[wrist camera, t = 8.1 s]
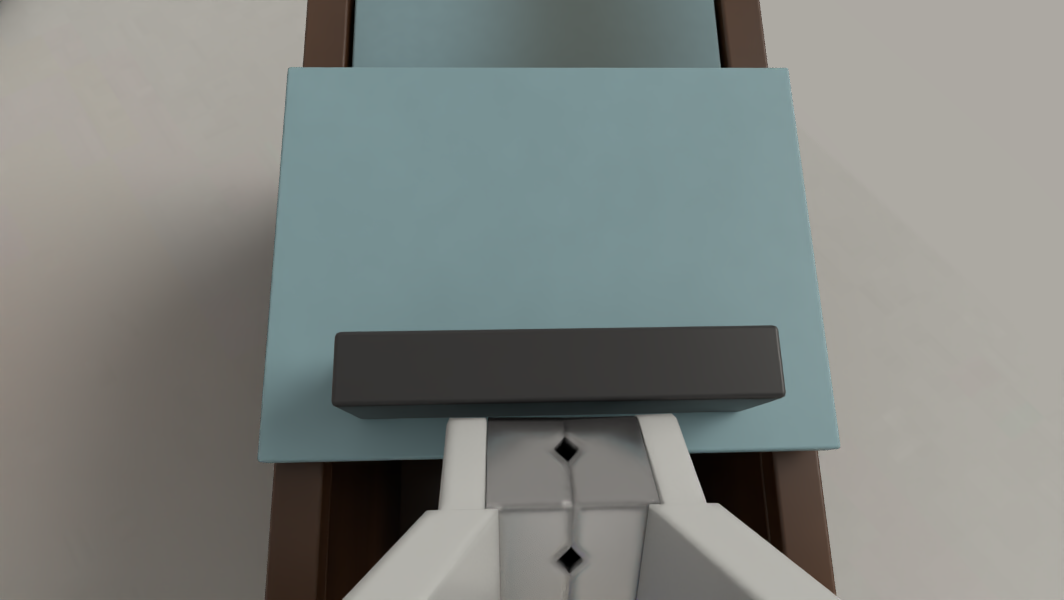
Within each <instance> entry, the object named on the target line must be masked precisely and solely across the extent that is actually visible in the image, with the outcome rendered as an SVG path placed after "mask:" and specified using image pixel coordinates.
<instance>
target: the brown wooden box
mask: <svg viewBox="0 0 1064 600" xmlns="http://www.w3.org/2000/svg"><path fill="white" fill-rule="evenodd" d="M303 67H384V68H768V64H767V56H766V49H765V41H764V34H763V25H762V18H761V11H760V2H759V0H308V2H307V16H306V30H305V44H304V58H303ZM689 454H690V457H691V460H692V463H693V466H694V468H695V471H696V474H697V477H698V480H699V483H700V485H701V488H702V491H703V494H704V497H705V499H706V502H707V503H719V504H720V505H721V506H723V507H724V508H725V509H727V510H728V511H729V512H730V513H732V514H733V515H734V516H735V517H737V518H738V519H739V520H741V521H742V522H743V523H744V524H746V525H747V526H748V527H749V528H751V529H752V530H753V531H755V532H756V533H757V534H758V535H760V536H761V537H762V538H763V539H765V540H766V541H767V542H769V543H770V544H771V545H772V546H774V547H775V548H776V549H777V550H779V551H780V552H781V553H783V554H784V555H785V556H786V557H788V558H789V559H790V560H791V561H793V562H794V563H795V564H796V565H798V566H799V567H800V568H802V569H803V570H804V571H805V572H807V573H808V574H809V575H810V576H812V577H813V578H814V579H816V580H817V581H818V582H819V583H821V584H822V585H823V586H824V587H826V588H827V589H828V590H830V591H831V592H832V593H833V594H835V595H836V589H835V581H834V574H833V566H832V558H831V550H830V543H829V535H828V527H827V520H826V512H825V504H824V496H823V489H822V481H821V473H820V466H819V458H818V450H814V451H771V452H728V453H689ZM442 466H443V459H425V460H382V461H338V462H295V463H274V477H273V491H272V505H271V519H270V533H269V547H268V561H267V575H266V589H265V600H342V599H343V598H344V597H345V596H346V595H347V594H348V593H349V592H350V591H351V590H352V589H353V588H354V587H355V585H356V584H357V583H358V582H359V581H360V580H361V579H362V578H363V577H364V576H365V575H366V574H367V573H368V572H369V571H370V570H371V569H372V567H373V566H374V565H375V564H376V563H377V562H378V561H379V560H380V559H381V558H382V557H383V556H384V555H385V554H386V553H387V552H388V551H389V549H390V548H391V547H392V546H393V545H394V544H395V543H396V542H397V541H398V540H399V539H400V538H401V537H402V536H403V535H404V534H405V533H406V532H407V530H408V529H409V528H410V527H411V526H412V525H413V524H414V523H415V522H416V521H417V520H418V519H419V518H420V517H421V516H422V515H423V514H424V512H425V511H427V510H438V506H439V496H440V486H441V476H442Z"/></svg>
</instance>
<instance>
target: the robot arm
mask: <svg viewBox="0 0 1064 600" xmlns="http://www.w3.org/2000/svg"><path fill="white" fill-rule="evenodd" d="M342 600H841V599H840V598H838V597H837V596H836V595H835V594H833V593H832V592H831V591H830V590H828V589H827V588H826V587H824V586H823V585H822V584H821V583H819V582H818V581H817V580H816V579H814V578H813V577H812V576H810V575H809V574H808V573H807V572H805V571H804V570H803V569H802V568H800V567H799V566H798V565H796V564H795V563H794V562H793V561H791V560H790V559H789V558H788V557H786V556H785V555H784V554H783V553H781V552H780V551H779V550H777V549H776V548H775V547H774V546H772V545H771V544H770V543H769V542H767V541H766V540H765V539H763V538H762V537H761V536H760V535H758V534H757V533H756V532H755V531H753V530H752V529H751V528H749V527H748V526H747V525H746V524H744V523H743V522H742V521H741V520H739V519H738V518H737V517H735V516H734V515H733V514H732V513H730V512H729V511H728V510H727V509H725V508H724V507H723V506H721V505H720V504H719V503H707V502H706V499H705V497H704V494H703V491H702V488H701V485H700V483H699V480H698V477H697V474H696V471H695V468H694V466H693V463H692V460H691V457H690V454H689V452H688V449H687V446H686V443H685V440H684V438H683V435H682V432H681V429H680V426H679V424H678V421H677V418H676V417H675V416H674V415H673V414H672V413H667V414H644V415H635V416H608V417H569V418H562V417H488V426H487V419H486V418H449V420H448V423H447V425H446V436H445V446H444V456H443V466H442V476H441V486H440V496H439V506H438V510H427V511H425V512H424V514H423V515H422V516H421V517H420V518H419V519H418V520H417V521H416V522H415V523H414V524H413V525H412V526H411V527H410V528H409V529H408V530H407V532H406V533H405V534H404V535H403V536H402V537H401V538H400V539H399V540H398V541H397V542H396V543H395V544H394V545H393V546H392V547H391V548H390V549H389V551H388V552H387V553H386V554H385V555H384V556H383V557H382V558H381V559H380V560H379V561H378V562H377V563H376V564H375V565H374V566H373V567H372V569H371V570H370V571H369V572H368V573H367V574H366V575H365V576H364V577H363V578H362V579H361V580H360V581H359V582H358V583H357V584H356V585H355V587H354V588H353V589H352V590H351V591H350V592H349V593H348V594H347V595H346V596H345V597H344V598H343V599H342Z"/></svg>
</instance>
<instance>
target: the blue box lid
mask: <svg viewBox="0 0 1064 600" xmlns="http://www.w3.org/2000/svg"><path fill="white" fill-rule="evenodd" d="M667 413H672V414H673V415H674V416H675V417H676V418H677V421H678V424H679V426H680V429H681V432H682V435H683V438H684V440H685V443H686V446H687V449H688V452H689V453H728V452H771V451H814V450H832V449H838V448H840V441H839V434H838V426H837V419H836V412H835V405H834V397H833V390H832V383H831V376H830V368H829V361H828V354H827V347H826V339H825V332H824V325H823V318H822V310H821V303H820V296H819V289H818V281H817V274H816V267H815V260H814V253H813V245H812V238H811V231H810V224H809V216H808V209H807V202H806V195H805V187H804V180H803V173H802V166H801V158H800V151H799V144H798V137H797V129H796V122H795V115H794V108H793V100H792V93H791V86H790V79H789V72H788V69H787V68H384V67H290V68H288V74H287V87H286V100H285V113H284V125H283V138H282V151H281V164H280V177H279V190H278V202H277V215H276V228H275V241H274V254H273V266H272V279H271V292H270V305H269V318H268V331H267V343H266V356H265V369H264V382H263V395H262V408H261V420H260V433H259V446H258V461H259V462H264V463H295V462H338V461H382V460H425V459H443V456H444V446H445V436H446V425H447V423H448V420H449V418H486V419H487V426H488V417H562V418H569V417H608V416H635V415H644V414H667Z"/></svg>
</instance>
